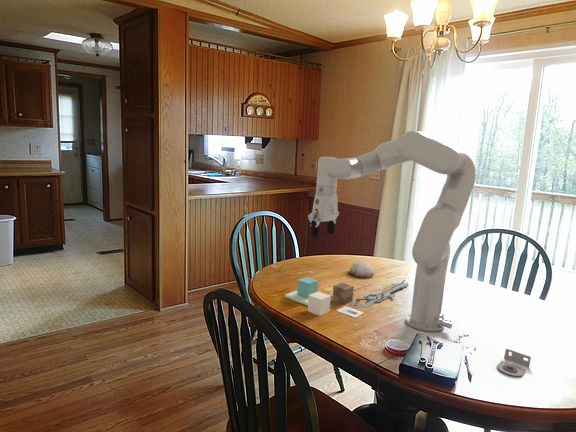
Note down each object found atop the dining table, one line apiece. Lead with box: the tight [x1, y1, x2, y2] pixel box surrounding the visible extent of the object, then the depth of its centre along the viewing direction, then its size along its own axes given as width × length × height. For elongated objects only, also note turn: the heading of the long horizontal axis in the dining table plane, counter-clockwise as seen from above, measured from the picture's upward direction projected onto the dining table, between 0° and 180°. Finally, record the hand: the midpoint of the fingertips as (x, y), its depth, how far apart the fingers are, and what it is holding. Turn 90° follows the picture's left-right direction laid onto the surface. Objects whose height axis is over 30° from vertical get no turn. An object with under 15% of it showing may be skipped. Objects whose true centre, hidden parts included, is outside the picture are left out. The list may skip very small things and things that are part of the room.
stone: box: [349, 259, 375, 279], centre depth 196 cm, size 13×10×8 cm
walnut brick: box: [331, 282, 355, 306], centre depth 161 cm, size 6×6×6 cm
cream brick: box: [307, 291, 331, 317], centre depth 150 cm, size 6×6×6 cm
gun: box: [350, 279, 409, 309], centre depth 170 cm, size 39×2×10 cm
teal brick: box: [296, 276, 319, 299], centre depth 162 cm, size 6×6×6 cm
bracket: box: [496, 348, 532, 377], centre depth 118 cm, size 7×10×4 cm, turn 137°
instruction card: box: [335, 305, 365, 319], centre depth 151 cm, size 8×6×1 cm
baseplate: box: [284, 289, 308, 307], centre depth 163 cm, size 12×12×1 cm
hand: (322, 235), depth 161 cm, fingers open, 9 cm apart
